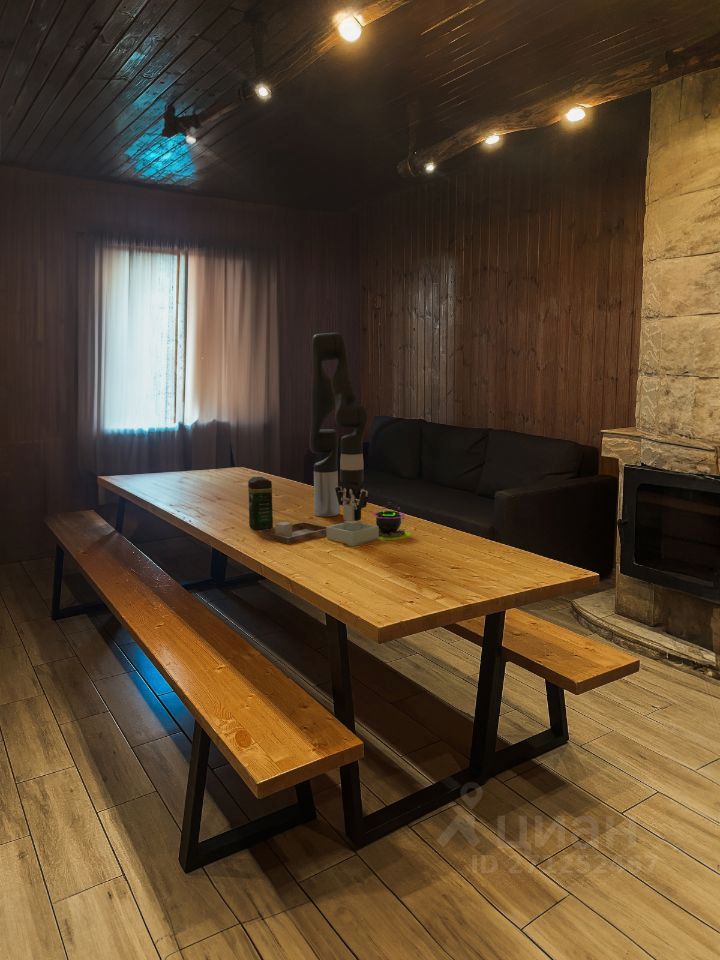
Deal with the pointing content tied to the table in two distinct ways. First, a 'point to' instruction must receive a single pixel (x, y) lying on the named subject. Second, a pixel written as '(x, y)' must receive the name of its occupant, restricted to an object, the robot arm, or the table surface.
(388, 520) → the toy cauldron
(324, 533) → the tray
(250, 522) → the coffee jar
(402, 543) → the table surface
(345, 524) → the stone
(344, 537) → the dump tub
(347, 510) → the grey rectangular block
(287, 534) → the stone
